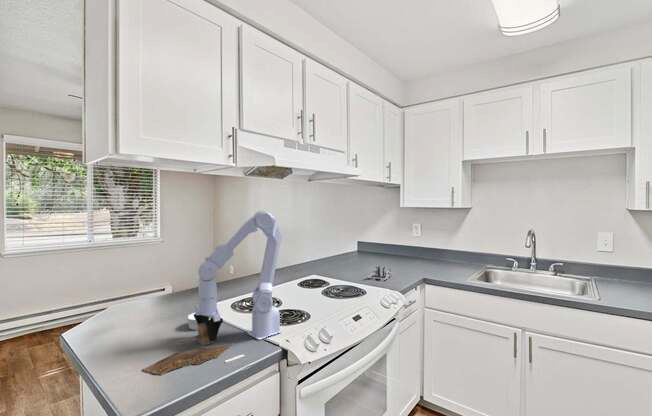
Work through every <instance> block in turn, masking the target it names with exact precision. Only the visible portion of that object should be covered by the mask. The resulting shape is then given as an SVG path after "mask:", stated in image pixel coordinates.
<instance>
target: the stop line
mask: <svg viewBox="0 0 652 416" xmlns="http://www.w3.org/2000/svg"><path fill="white" fill-rule="evenodd" d="M245 356H246V355H244V354H240V355H237V356H235V357H231V358H229V359H227V360H224V363H226V364H227V363H230V362H233V361H235V360H239V359H241V358H243V357H245Z"/></svg>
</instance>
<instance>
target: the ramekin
mask: <svg viewBox="0 0 652 416" xmlns="http://www.w3.org/2000/svg"><path fill="white" fill-rule="evenodd" d="M194 314H195V312H193V313H191V314H188V316H187V319H188V320H187V321H188V328H189V329H190V330H191V331H198V324H197V321H196V319H195V318H194V316H193V315H194ZM209 320H210V317H209Z"/></svg>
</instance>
